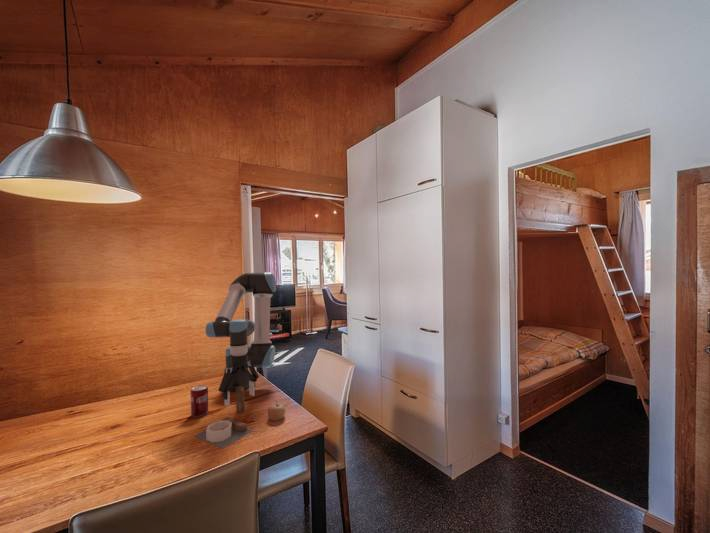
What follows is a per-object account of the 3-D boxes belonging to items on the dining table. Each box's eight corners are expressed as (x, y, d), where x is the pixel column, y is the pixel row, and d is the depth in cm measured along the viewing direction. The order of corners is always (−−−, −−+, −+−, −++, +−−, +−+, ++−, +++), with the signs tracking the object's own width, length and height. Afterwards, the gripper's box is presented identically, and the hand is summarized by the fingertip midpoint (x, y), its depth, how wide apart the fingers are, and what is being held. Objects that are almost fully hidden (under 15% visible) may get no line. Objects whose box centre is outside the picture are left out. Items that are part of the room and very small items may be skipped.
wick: (222, 425, 132) (222, 419, 132) (227, 423, 134) (227, 417, 134) (241, 432, 126) (241, 426, 126) (246, 429, 128) (246, 423, 128)
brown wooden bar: (241, 412, 146) (240, 386, 146) (244, 413, 145) (244, 387, 145) (236, 414, 144) (235, 388, 144) (240, 415, 143) (239, 389, 143)
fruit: (267, 417, 140) (267, 399, 140) (284, 415, 143) (284, 397, 143) (268, 425, 133) (267, 406, 133) (286, 422, 135) (285, 404, 135)
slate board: (224, 422, 137) (224, 420, 137) (253, 433, 127) (253, 430, 127) (193, 438, 125) (193, 435, 125) (223, 451, 115) (222, 448, 115)
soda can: (211, 410, 149) (211, 385, 149) (202, 417, 142) (202, 391, 142) (197, 410, 150) (196, 384, 150) (187, 417, 143) (186, 390, 143)
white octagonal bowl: (222, 427, 130) (222, 418, 130) (236, 433, 126) (236, 423, 126) (202, 438, 123) (201, 428, 123) (216, 444, 118) (216, 434, 118)
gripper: (254, 346, 157) (255, 389, 157) (209, 359, 136) (210, 409, 136) (265, 348, 153) (266, 392, 153) (220, 362, 132) (221, 413, 132)
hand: (240, 400), depth 145 cm, fingers open, 13 cm apart
